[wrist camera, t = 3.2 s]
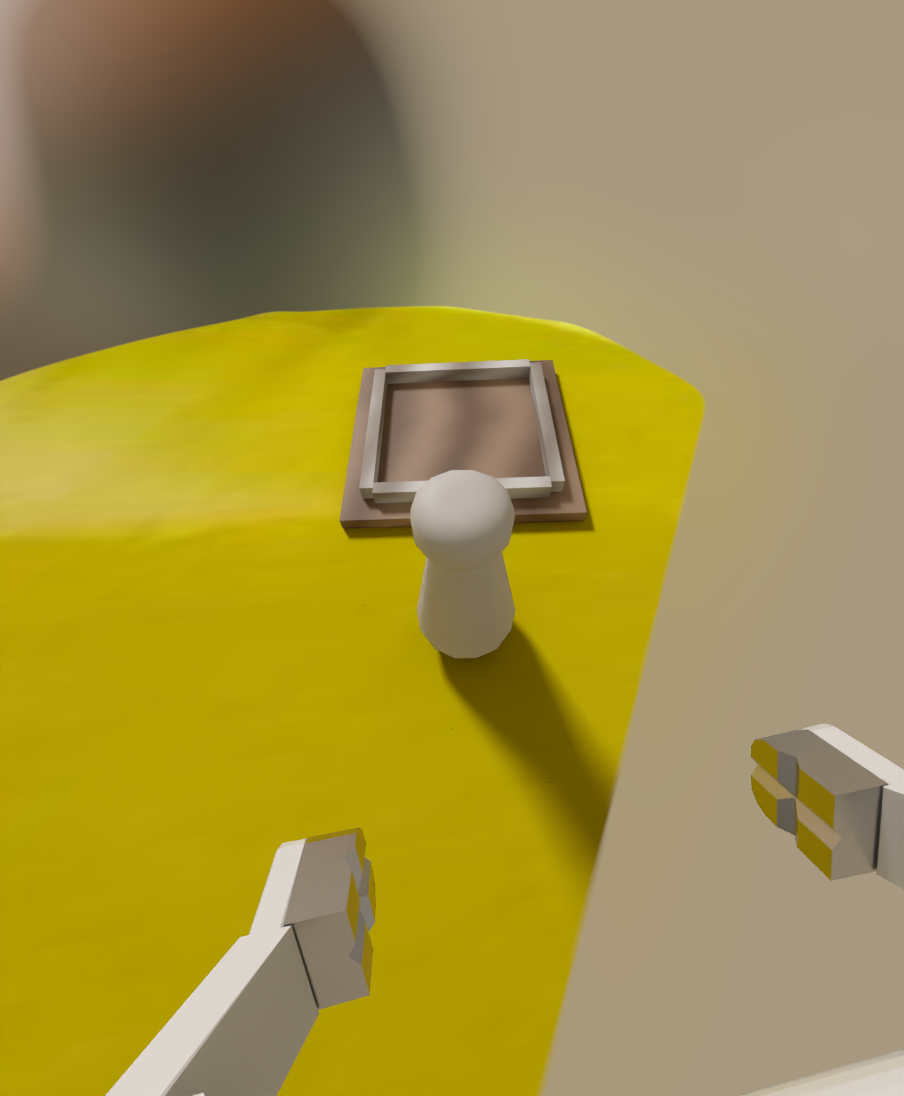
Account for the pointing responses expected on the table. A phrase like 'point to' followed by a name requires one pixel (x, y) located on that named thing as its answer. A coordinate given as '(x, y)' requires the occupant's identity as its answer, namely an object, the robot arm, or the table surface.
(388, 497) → the socket plate
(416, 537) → the salt shaker
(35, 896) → the table surface
